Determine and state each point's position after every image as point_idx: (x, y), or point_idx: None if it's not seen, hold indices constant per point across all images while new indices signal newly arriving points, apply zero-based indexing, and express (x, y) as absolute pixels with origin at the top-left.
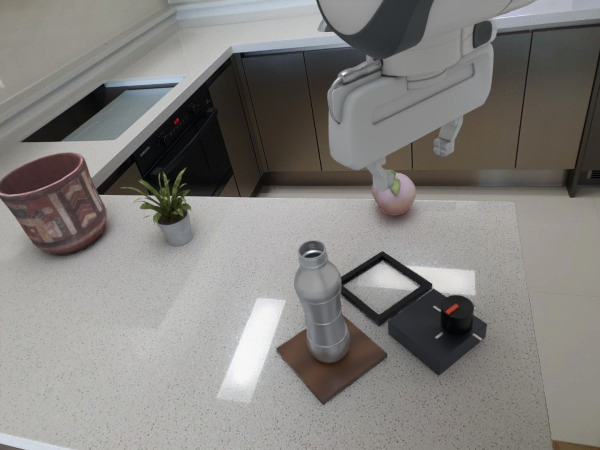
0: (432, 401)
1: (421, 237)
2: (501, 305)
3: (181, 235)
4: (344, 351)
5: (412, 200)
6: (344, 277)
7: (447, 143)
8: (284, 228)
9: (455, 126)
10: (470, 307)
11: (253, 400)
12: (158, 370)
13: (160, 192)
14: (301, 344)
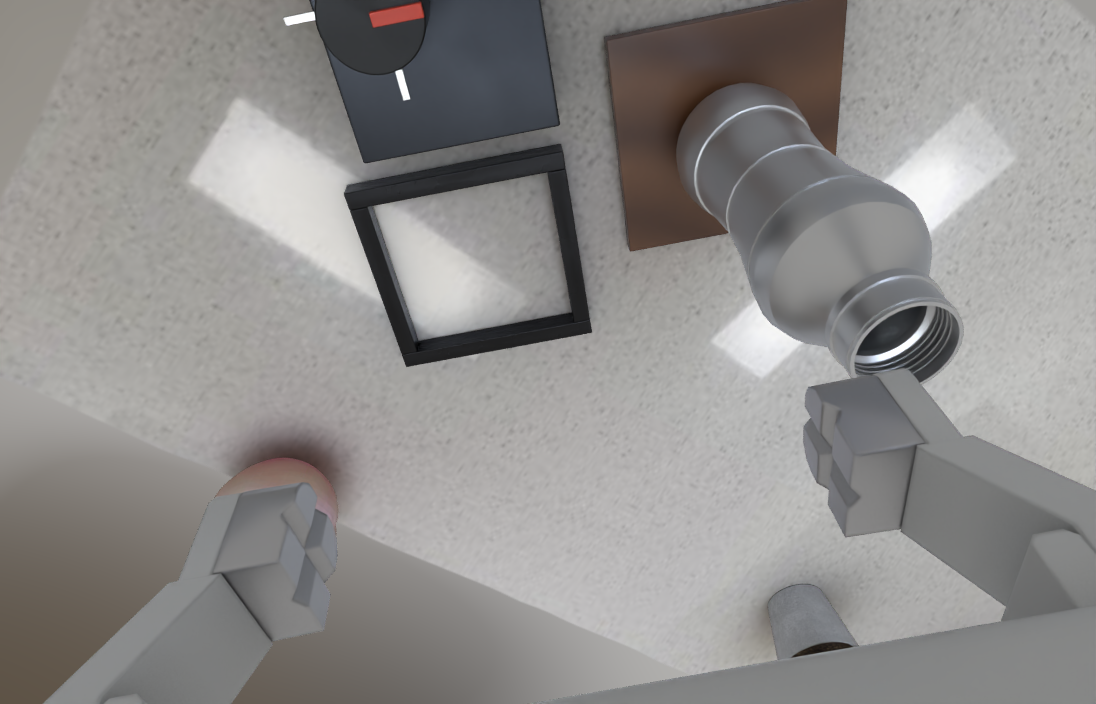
0: None
1: (268, 364)
2: (180, 14)
3: (810, 607)
4: (731, 90)
5: (238, 480)
6: (552, 332)
7: (260, 563)
8: (580, 539)
9: (129, 688)
10: None
11: (960, 103)
12: (1058, 294)
13: None
14: None
